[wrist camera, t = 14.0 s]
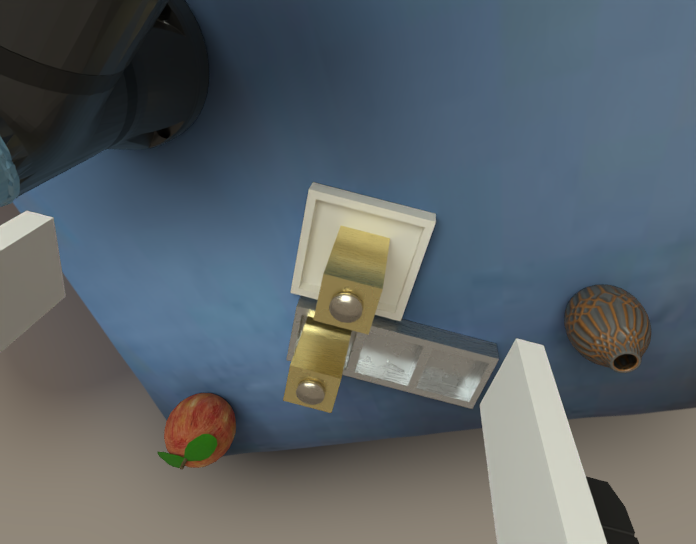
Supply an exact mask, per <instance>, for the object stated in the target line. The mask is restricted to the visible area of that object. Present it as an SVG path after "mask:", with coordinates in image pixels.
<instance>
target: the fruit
mask: <svg viewBox="0 0 696 544" xmlns="http://www.w3.org/2000/svg"><path fill="white" fill-rule="evenodd" d="M235 433H236V421H235V415H234V412H233V410H232V408H231V406H230V405H229V404H228V403H227V401H226V400H224V399H223V398H222V397H220V396H218V395H215V394H212V393H199V394H195V395H192V396H190V397H188V398H186V399H185V400H183V401H182V402H180V403H179V404H178V405H177V406H176V407H175V409H174V410H173V411H172V412H171V414H170V416H169V418H168V420H167V422H166V427H165V434H164V439H165V443H166V448H167V450H168V452H169V453H170V454H169V453H165V452H158V455H159V456H160V457H161V458H162V459H163V460H165V461H166V462H167V463H168V464H169V465H171V466H173V467H177V468H180V469H183V468H184V466H188V467H198V468H199V467H204V466H207V465H209V464H212V463H213V462H216V461H217V460H218V459H219V458H220V457H222V456H223V455H224V454H225V453H226V451H227V450H228V449H229V447H230V445H231V443H232V441H233V439H234V436H235Z"/></svg>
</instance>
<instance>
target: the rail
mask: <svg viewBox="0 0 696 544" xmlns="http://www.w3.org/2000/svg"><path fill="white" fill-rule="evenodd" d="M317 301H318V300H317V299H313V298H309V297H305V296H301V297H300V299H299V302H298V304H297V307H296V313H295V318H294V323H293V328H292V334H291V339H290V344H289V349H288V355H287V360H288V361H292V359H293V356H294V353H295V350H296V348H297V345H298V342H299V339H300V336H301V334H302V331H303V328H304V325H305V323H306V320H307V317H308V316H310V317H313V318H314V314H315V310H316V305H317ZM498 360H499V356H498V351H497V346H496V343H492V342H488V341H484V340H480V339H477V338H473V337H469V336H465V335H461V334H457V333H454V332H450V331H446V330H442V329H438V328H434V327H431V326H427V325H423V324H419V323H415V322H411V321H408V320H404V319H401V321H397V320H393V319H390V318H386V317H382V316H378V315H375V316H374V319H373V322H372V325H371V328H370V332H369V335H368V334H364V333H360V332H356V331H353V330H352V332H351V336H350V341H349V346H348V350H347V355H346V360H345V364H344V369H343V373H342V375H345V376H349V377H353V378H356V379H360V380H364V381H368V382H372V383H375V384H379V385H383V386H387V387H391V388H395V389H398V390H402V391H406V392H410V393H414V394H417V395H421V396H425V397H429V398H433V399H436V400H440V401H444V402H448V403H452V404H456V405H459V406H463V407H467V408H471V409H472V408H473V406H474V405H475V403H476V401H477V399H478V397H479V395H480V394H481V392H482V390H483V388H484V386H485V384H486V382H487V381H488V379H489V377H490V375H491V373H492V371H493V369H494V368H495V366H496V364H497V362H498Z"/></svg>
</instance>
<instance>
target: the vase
mask: <svg viewBox="0 0 696 544" xmlns="http://www.w3.org/2000/svg"><path fill="white" fill-rule="evenodd" d="M564 324H565V329H566V333H567V335H568V338H569V340H570V342H571V343H572V345H573V346H574V348H575V349H576V350H577V351H578V352H579V353H580V354H581V355H582V356H583V357H585V358H586V359H588V360H589V361H591V362H593V363H596V364H598V365H602V366H606V367H610V368H611V369H612V370H614V371H616V372H620V373H627V372H631V371H633V370H635V369H637V368H638V367H639V365H640V364H641V358H642V356H643V354H644V353H645V351H646V350H647V348H648V346H649V343H650V340H651V325H650V320H649V317H648V315H647V313H646V311H645V309H644V308H643V306H642V305H641V303H640V302H639V301H638V300H637V299H636V298H635V297H634V296H632V295H631V294H630V293H628V292H627V291H625V290H623V289H621V288H618V287H616V286H612V285H594V286H590V287H587V288H584V289H582V290H581V291H579V292H578V293H576V294H575V295H574V296H573V297H572V298H571V300H570V301H569V303H568V305H567V307H566V310H565V315H564Z"/></svg>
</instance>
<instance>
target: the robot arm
mask: <svg viewBox="0 0 696 544" xmlns="http://www.w3.org/2000/svg"><path fill="white" fill-rule="evenodd" d="M208 84H209V63H208V56H207V51H206V46H205V42H204V39H203V36H202V33H201V31H200V28H199V26H198V24H197V21H196V19H195V17H194V16H193V14H192V12H191V10H190V9H189V7H188V5H187V4H186V2H185V1H184V0H0V207H2V206H5V205H8V204H10V203H12V202H13V200H14V199H15V198H17V197H18V196H20V195H22V194H24V193H25V192H27V191H29V190H31V189H33V188H35V187H37V186H39V185H40V184H42V183H44V182H46V181H48V180H50V179H52V178H54V177H56V176H57V175H59V174H61V173H63V172H65V171H67V170H69V169H71V168H72V167H74V166H76V165H78V164H80V163H82V162H84V161H86V160H88V159H89V158H91V157H93V156H95V155H97V154H99V153H101V152H102V151H104V150H106V149H128V150H140V149H148V148H152V147H156V146H159V145H162V144H164V143H166V142H168V141H170V140H172V139H173V138H175V137H177V136H178V135H180V134H181V133H183V132H184V131H186V130H187V129H188V128H189V127H190V126H191V125H192V124H193V122H194V121H195V120H196V118H197V117H198V115H199V114H200V112H201V110H202V107H203V105H204V102H205V99H206V96H207V91H208ZM65 296H66V295H65V288H64V283H63V275H62V269H61V263H60V256H59V250H58V243H57V237H56V231H55V224H54V218H53V217H49V216H45V215H41V214H38V213H34V212H30V211H25V212H23V213H22V214H20V215H18V216H16V217H15V218H13V219H11V220H9V221H8V222H6V223H4V224H2V225H1V226H0V353H1V352H2V351H3V350H4V349H6V348H7V347H8V346H9V345H10V344H11V343H12V342H14V341H15V340H16V339H17V338H18V337H19V336H21V335H22V334H23V333H24V332H25V331H26V330H27V329H29V328H30V327H31V326H32V325H33V324H34V323H36V322H37V321H38V320H39V319H40V318H41V317H42V316H43V315H45V314H46V313H47V312H48V311H49V310H51V309H52V308H53V307H54V306H55V305H56V304H58V303H59V302H60V301H61V300H62V299H63V298H64V297H65ZM480 411H481V419H482V427H483V435H484V443H485V451H486V459H487V467H488V475H489V483H490V491H491V499H492V507H493V515H494V523H495V530H496V539H497V544H639V542H638V540H637V538H635V537H634V533H635V532H634V529H633V527H632V524H631V521H630V519H629V516H628V513H627V511H626V508H625V506H624V505H623V503H622V502H621V500H620V499H619V498H618V496H617V495H616V494H615V492H614V491H613V490H612V488H611V486H610V485H609V484H608V482H605V481H601V480H597V479H593V478H590V477H586V476H585V473H584V470H583V467H582V464H581V461H580V458H579V454H578V451H577V448H576V445H575V442H574V439H573V436H572V433H571V430H570V426H569V423H568V420H567V417H566V414H565V411H564V408H563V405H562V402H561V398H560V395H559V392H558V389H557V386H556V383H555V380H554V377H553V374H552V370H551V367H550V364H549V361H548V358H547V355H546V352H545V349H544V346H543V345H540V344H536V343H532V342H528V341H525V340H521V339H517V338H516V340H515V341H514V343H513V345H512V347H511V349H510V351H509V352H508V354H507V356H506V358H505V360H504V361H503V363H502V365H501V367H500V369H499V371H498V372H497V374H496V376H495V378H494V380H493V382H492V383H491V385H490V387H489V389H488V391H487V392H486V394H485V396H484V398H483V400H482V402H481V403H480Z"/></svg>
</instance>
